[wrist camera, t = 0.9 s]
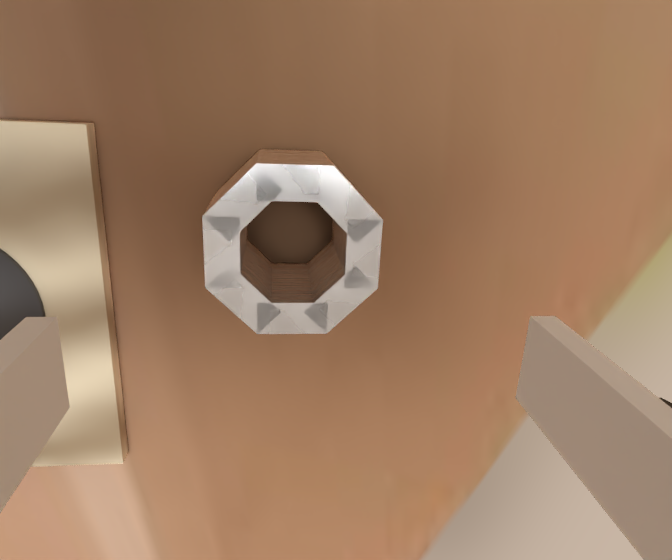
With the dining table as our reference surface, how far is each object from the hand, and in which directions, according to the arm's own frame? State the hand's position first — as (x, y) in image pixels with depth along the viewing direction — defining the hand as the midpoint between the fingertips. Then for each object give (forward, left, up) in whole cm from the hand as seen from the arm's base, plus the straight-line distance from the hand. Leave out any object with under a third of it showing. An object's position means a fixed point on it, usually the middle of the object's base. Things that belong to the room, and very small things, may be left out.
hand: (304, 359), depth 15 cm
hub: (0, 0, -16) cm, 16 cm away
